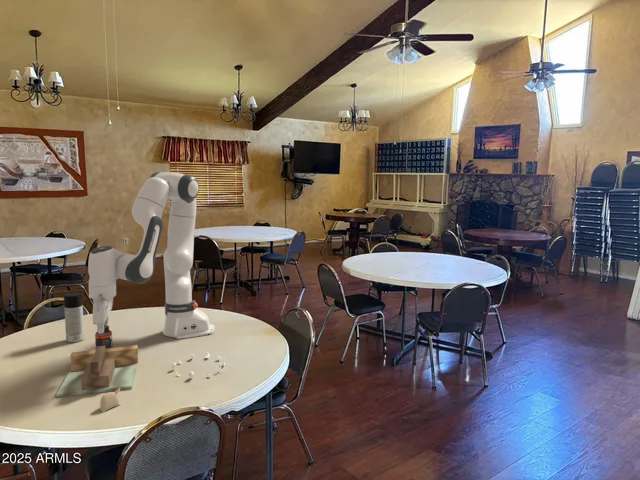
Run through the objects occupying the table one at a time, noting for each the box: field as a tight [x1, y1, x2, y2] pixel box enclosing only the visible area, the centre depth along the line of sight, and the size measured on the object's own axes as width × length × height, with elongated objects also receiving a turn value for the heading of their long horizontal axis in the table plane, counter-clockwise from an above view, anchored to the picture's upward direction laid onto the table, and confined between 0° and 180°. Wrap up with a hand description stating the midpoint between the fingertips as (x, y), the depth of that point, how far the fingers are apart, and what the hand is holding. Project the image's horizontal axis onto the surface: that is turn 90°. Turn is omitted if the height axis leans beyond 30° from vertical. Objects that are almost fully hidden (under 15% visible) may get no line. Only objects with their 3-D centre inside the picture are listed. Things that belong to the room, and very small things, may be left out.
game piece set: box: [171, 352, 226, 380], centre depth 161 cm, size 19×20×4 cm
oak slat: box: [70, 344, 139, 372], centre depth 162 cm, size 22×4×6 cm, turn 113°
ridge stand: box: [55, 346, 137, 398], centre depth 148 cm, size 22×16×10 cm
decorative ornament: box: [99, 388, 122, 413], centre depth 133 cm, size 3×7×4 cm, turn 145°
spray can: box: [63, 292, 85, 343], centre depth 184 cm, size 7×7×20 cm
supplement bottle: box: [94, 324, 114, 350], centre depth 171 cm, size 6×6×11 cm
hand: (103, 328), depth 160 cm, fingers open, 8 cm apart
